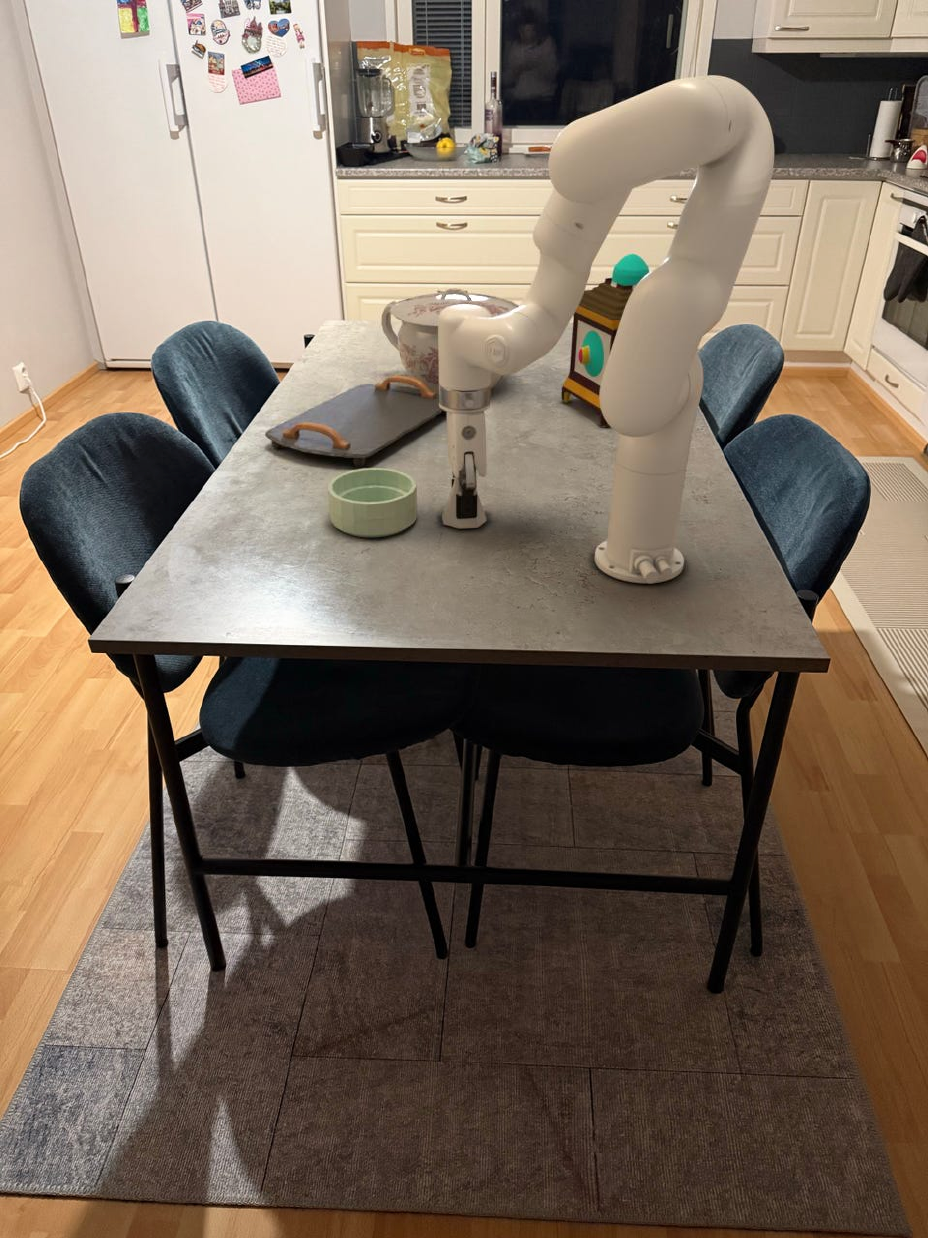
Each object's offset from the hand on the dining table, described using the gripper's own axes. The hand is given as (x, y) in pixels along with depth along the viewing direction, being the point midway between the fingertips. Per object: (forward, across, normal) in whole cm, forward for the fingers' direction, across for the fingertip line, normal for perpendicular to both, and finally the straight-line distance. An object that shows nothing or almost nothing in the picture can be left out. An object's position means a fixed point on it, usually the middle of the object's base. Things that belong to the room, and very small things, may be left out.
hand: (464, 508), depth 140 cm
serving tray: (+2, +41, +14) cm, 43 cm away
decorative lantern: (+2, +47, -38) cm, 60 cm away
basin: (+2, +2, +14) cm, 14 cm away
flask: (+2, 0, 0) cm, 2 cm away
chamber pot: (+2, +65, -7) cm, 66 cm away
